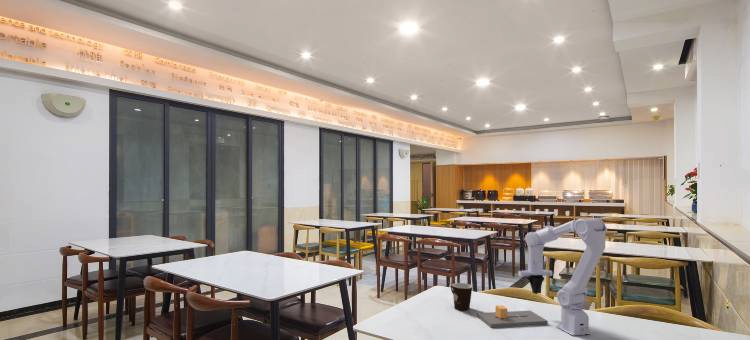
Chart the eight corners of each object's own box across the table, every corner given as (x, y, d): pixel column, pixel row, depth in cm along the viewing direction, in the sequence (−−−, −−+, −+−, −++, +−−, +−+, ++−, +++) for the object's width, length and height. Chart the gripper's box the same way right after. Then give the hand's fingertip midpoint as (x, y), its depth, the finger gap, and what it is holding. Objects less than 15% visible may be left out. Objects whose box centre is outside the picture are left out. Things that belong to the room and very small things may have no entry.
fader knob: (507, 318, 154) (507, 308, 154) (500, 318, 154) (500, 308, 154) (502, 314, 158) (502, 305, 158) (495, 315, 157) (495, 305, 158)
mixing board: (547, 324, 153) (547, 320, 153) (491, 327, 148) (491, 323, 149) (530, 314, 165) (530, 310, 165) (477, 316, 160) (477, 312, 160)
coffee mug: (474, 312, 166) (474, 288, 166) (453, 311, 166) (454, 288, 166) (468, 303, 177) (468, 281, 178) (449, 302, 178) (449, 281, 178)
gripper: (545, 258, 168) (545, 289, 168) (514, 259, 166) (514, 290, 166) (555, 261, 162) (555, 294, 161) (523, 262, 159) (523, 295, 159)
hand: (535, 293), depth 163 cm, fingers closed
